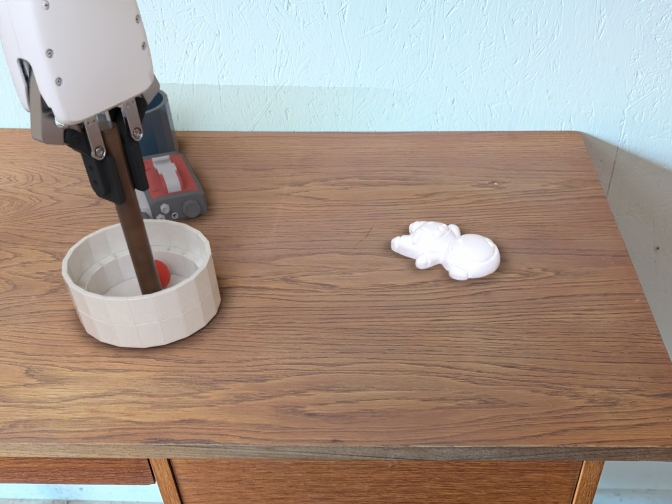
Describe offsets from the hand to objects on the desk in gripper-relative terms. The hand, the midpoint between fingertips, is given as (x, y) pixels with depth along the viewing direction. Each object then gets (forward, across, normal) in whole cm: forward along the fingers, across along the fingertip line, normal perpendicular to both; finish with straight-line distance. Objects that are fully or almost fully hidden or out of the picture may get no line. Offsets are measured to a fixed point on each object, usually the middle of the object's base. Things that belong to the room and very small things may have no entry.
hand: (122, 191), depth 63 cm
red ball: (+12, -4, -4) cm, 13 cm away
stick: (+12, 0, 0) cm, 12 cm away
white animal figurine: (+14, -27, +18) cm, 35 cm away
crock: (+14, -25, -28) cm, 39 cm away
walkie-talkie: (+14, -16, -14) cm, 26 cm away
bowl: (+14, -1, -2) cm, 14 cm away
